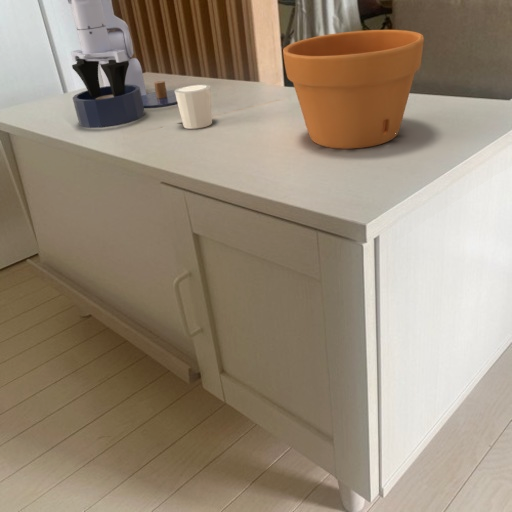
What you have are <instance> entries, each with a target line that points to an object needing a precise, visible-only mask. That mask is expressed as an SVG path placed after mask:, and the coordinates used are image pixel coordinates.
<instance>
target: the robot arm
mask: <svg viewBox="0 0 512 512" xmlns="http://www.w3.org/2000/svg"><path fill="white" fill-rule="evenodd" d="M67 3H68V4H69V5H70V7H71V12H72V13H71V14H72V16H73V19H74V24H75V28H76V32H77V37H78V40H79V44H80V48H81V49H77V50H73V51H70V54H71V57H72V62H76V63H73V64H71V68H72V70H74V72H75V73H76V74H77V76H78V77H79V78H80V79H81V81H82V83H83V84H84V86H85V88H86V91H87V90H88V92H89V94H90V96H91V97H92V98H94V97H97V96H100V95H101V91H100V87H101V85H100V79H99V70H100V74H101V80H102V82H103V87H105V86H110V87H111V90H112V93H113V96H114V97H115V96H120V95H124V94H125V85H136V86H138V87H140V91H141V96H142V95H145V94H148V93H147V89H146V88H147V87H146V84H145V79H144V74H143V68H142V66H141V63H140V61H139V60H138V58H137V57H133V55H134V54H135V53H134V46H133V40H132V36H131V32H130V29H129V25H128V24H127V22H126V21H125V20H123V19H122V18H120V17H118V16H116V15H115V13H114V12H115V11H114V7H113V1H112V0H67Z"/></svg>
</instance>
